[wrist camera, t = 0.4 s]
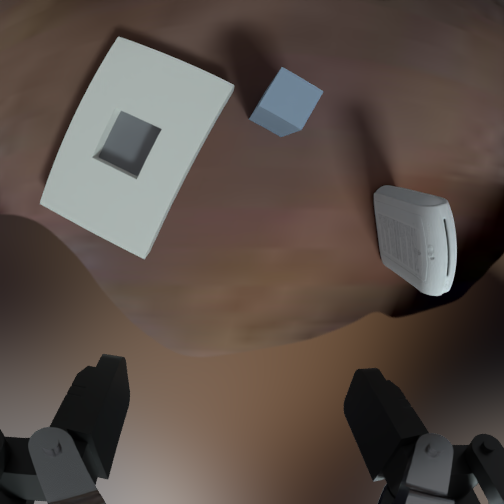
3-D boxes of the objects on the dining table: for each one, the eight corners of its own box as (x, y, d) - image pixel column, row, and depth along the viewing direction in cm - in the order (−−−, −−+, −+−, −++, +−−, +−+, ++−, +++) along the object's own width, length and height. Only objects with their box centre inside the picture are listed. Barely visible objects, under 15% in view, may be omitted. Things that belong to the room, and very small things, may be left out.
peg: (266, 89, 31) (282, 66, 23) (298, 107, 32) (323, 91, 24) (248, 119, 32) (258, 105, 24) (281, 137, 33) (301, 129, 25)
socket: (125, 45, 28) (118, 36, 25) (233, 91, 31) (234, 85, 28) (51, 199, 32) (39, 203, 29) (150, 251, 35) (144, 259, 32)
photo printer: (406, 258, 39) (464, 294, 27) (379, 267, 39) (433, 308, 27) (397, 181, 36) (462, 194, 24) (368, 188, 36) (428, 204, 24)
